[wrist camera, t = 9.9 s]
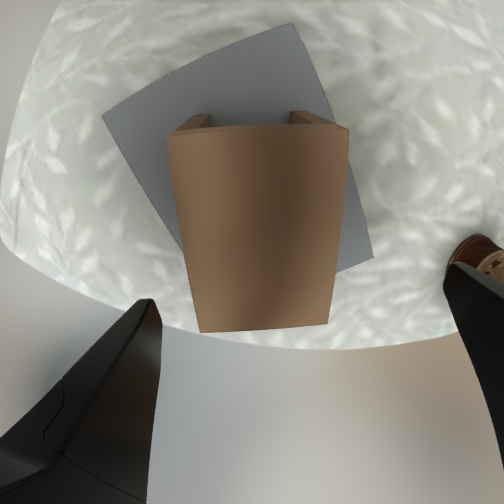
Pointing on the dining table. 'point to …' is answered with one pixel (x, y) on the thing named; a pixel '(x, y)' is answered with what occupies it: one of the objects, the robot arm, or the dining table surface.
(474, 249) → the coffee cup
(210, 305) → the wooden seat
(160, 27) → the dining table surface
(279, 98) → the mat
